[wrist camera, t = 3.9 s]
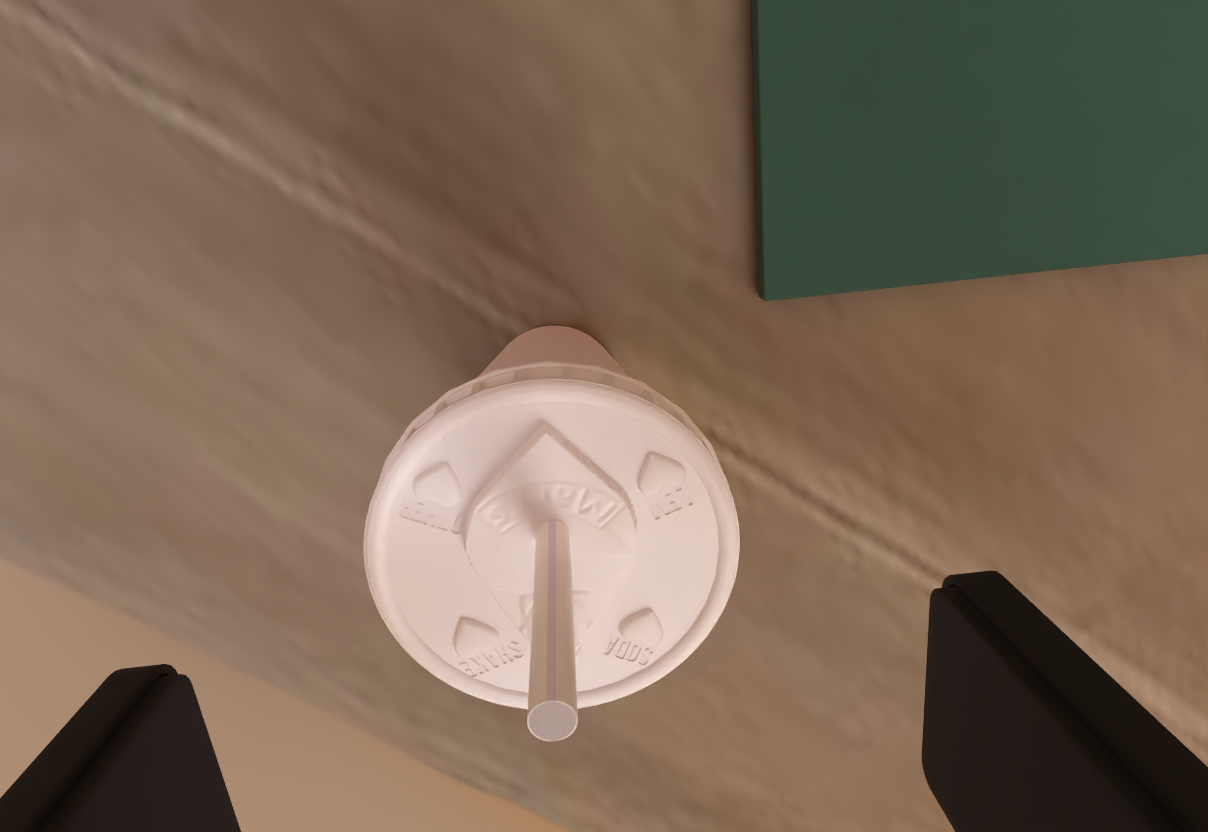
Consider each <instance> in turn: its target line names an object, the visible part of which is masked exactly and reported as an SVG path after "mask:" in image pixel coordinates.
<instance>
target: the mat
mask: <svg viewBox="0 0 1208 832" xmlns="http://www.w3.org/2000/svg"><path fill="white" fill-rule="evenodd" d="M752 39H753V79H754V119H755V159H756V199H757V239H758V278H759V297H760V298H761V299H763V300H764V301H771V300H780V299H790V298H799V297H808V296H817V295H827V294H836V293H845V292H855V291H864V290H873V289H883V288H892V287H901V286H911V285H920V284H929V283H939V282H948V281H957V280H967V279H976V278H985V277H994V276H1004V275H1013V274H1022V273H1032V272H1041V271H1050V270H1060V269H1069V268H1078V267H1088V266H1097V265H1106V264H1116V263H1125V262H1134V261H1143V260H1153V259H1162V258H1171V257H1181V256H1190V255H1199V254H1208V0H752Z"/></svg>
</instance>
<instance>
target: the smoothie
mask: <svg viewBox="0 0 1208 832" xmlns="http://www.w3.org/2000/svg"><path fill="white" fill-rule="evenodd" d="M739 550H740V538H739V525H738V517H737V512H736V508H735V504H734V500H733V497H732V495H731V492H730V489H729V484H728V482H727V479H726V477H725V475H724V472H723V470H722V468H721V465H720V463H719V461H718V458H717V456H716V454H715V451H714V449H713V447H712V444H711V443H710V442H709V441H708V439H707V438H706V437H705V436H704V435H703V433H702V432H701V431H700V430H699V429H698V427H697V426H696V425H695V424H694V423H693V421H692V420H691V419H690V418H689V416H688V415H687V414H686V413H685V412H684V410H683V409H682V408H680V407H679V406H677V405H676V404H674V403H673V402H671V401H670V400H669V399H667V398H666V397H664V396H663V395H661V394H660V393H658V392H657V391H655V390H654V389H653V388H651V387H650V386H648V385H647V384H645V383H644V382H642V381H639V380H636V379H633V378H631V377H630V376H629V375H628V374H627V373H626V372H625V371H624V370H623V369H622V367H621V366H620V365H619V364H618V363H617V362H616V361H615V360H614V359H613V357H612V356H611V355H610V354H609V353H608V352H607V351H606V350H605V349H604V348H603V346H602V345H601V344H600V343H599V342H597V341H596V340H595V339H594V338H592V337H591V336H589V335H588V334H586V333H584V332H582V331H579V330H577V329H574V328H570V327H565V326H543V327H538V328H535V329H531V330H529V331H527V332H525V333H523V334H521V335H519V336H518V337H516V338H515V339H514V340H512V341H511V342H510V343H509V344H508V345H507V346H506V347H505V348H504V349H503V350H502V351H501V352H500V353H499V354H498V356H497V357H496V358H495V359H494V360H493V361H492V362H491V363H490V364H489V365H488V366H487V368H486V369H485V370H484V371H483V372H482V373H481V374H480V375H479V376H478V377H477V378H475V379H473V380H471V381H469V382H466V383H464V384H462V385H460V386H458V387H455V388H453V389H451V390H449V391H448V392H447V393H445V394H444V395H443V396H442V397H441V398H439V399H438V400H437V401H436V402H435V403H433V404H432V405H431V406H430V407H429V408H427V409H426V410H425V411H424V412H423V413H421V414H420V415H419V416H418V417H417V418H415V419H414V420H413V421H412V422H411V423H410V425H409V426H408V428H407V429H406V431H405V432H404V433H403V435H402V436H401V438H400V439H399V441H398V442H397V444H396V445H395V447H394V448H393V450H392V451H391V453H390V454H389V456H388V457H387V459H386V460H385V463H384V466H383V470H382V473H381V476H380V479H379V482H378V484H377V486H376V489H375V492H374V494H373V497H372V500H371V502H370V506H369V510H368V514H367V518H366V525H365V532H364V561H365V570H366V575H367V579H368V584H369V587H370V591H371V594H372V597H373V600H374V602H375V604H376V606H377V609H378V611H379V613H380V615H381V617H382V619H383V620H384V622H385V624H386V625H387V627H388V629H389V630H390V632H391V633H392V634H393V636H394V637H395V638H396V640H397V641H398V643H399V644H400V645H401V646H402V647H403V648H404V649H405V650H406V651H407V652H408V654H409V655H410V656H411V657H413V658H414V659H415V660H416V661H417V662H418V663H419V664H420V665H421V666H423V667H424V668H425V669H426V670H428V671H429V672H430V673H432V674H433V675H434V676H436V677H438V678H439V679H441V680H442V681H444V682H446V683H447V684H449V685H451V686H453V687H455V688H457V689H459V690H461V691H463V692H465V693H467V694H470V695H472V696H475V697H477V698H480V699H483V700H486V701H489V702H493V703H496V704H500V705H505V706H510V707H515V708H523V709H528V715H527V725H528V728H529V730H530V732H531V733H532V734H533V735H534V736H535V737H537V738H539V739H541V740H544V741H559V740H562V739H565V738H567V737H568V736H570V735H571V734H572V733H573V732H574V730H575V729H576V727H577V724H578V712H577V708H583V707H589V706H594V705H599V704H602V703H606V702H610V701H613V700H616V699H619V698H621V697H624V696H627V695H630V694H632V693H634V692H636V691H638V690H641V689H643V688H645V687H647V686H648V685H650V684H652V683H654V682H655V681H657V680H659V679H660V678H662V677H663V676H665V675H666V674H668V673H669V672H671V671H672V670H673V669H675V668H676V667H677V666H678V665H679V664H681V663H682V662H683V661H684V660H685V659H686V658H687V657H689V656H690V655H691V654H692V653H693V652H694V651H695V650H696V649H697V648H698V646H699V645H700V644H701V643H702V642H703V640H704V639H705V638H706V637H707V636H708V634H709V633H710V631H711V630H712V628H713V627H714V625H715V624H716V622H717V621H718V619H719V617H720V615H721V614H722V612H723V610H724V608H725V606H726V603H727V601H728V599H729V596H730V594H731V591H732V588H733V584H734V581H735V577H736V572H737V567H738V561H739Z"/></svg>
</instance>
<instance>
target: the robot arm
mask: <svg viewBox="0 0 1208 832" xmlns="http://www.w3.org/2000/svg"><path fill="white" fill-rule="evenodd" d="M922 764H923V770H924V774H925V777H926V780H927V783H928V785H929V787H930V789H931V791H932V793H933V794H934V796H935V798H936V799H937V801H938V803H939V804H940V806H941V808H942V810H943V811H944V813H945V815H946V816H947V818H948V820H949V821H950V823H951V825H952V827H953V828H954V830H955V832H1208V767H1207V766H1206V765H1205V764H1204V763H1203V762H1202V761H1201V760H1199V759H1198V758H1197V757H1196V756H1195V755H1194V754H1193V753H1192V752H1191V751H1190V750H1189V749H1188V748H1187V747H1186V746H1184V745H1183V744H1182V743H1181V742H1180V741H1179V740H1178V739H1177V738H1176V737H1175V736H1174V735H1173V734H1172V733H1171V732H1169V731H1168V730H1167V729H1166V728H1165V727H1164V726H1163V725H1162V724H1161V723H1160V722H1159V721H1158V720H1157V719H1156V718H1155V717H1153V716H1152V715H1151V714H1150V713H1149V712H1148V711H1147V710H1146V709H1145V708H1144V707H1143V706H1142V705H1141V704H1140V703H1138V702H1137V701H1136V700H1135V699H1134V698H1133V697H1132V696H1131V695H1130V694H1129V693H1128V692H1127V691H1126V690H1125V689H1123V688H1122V687H1121V686H1120V685H1119V684H1118V683H1117V682H1116V681H1115V680H1114V679H1113V678H1112V677H1111V676H1110V675H1108V674H1107V673H1106V672H1105V671H1104V670H1103V669H1102V668H1101V667H1100V666H1099V665H1098V664H1097V663H1096V662H1095V661H1093V660H1092V659H1091V658H1090V657H1089V656H1088V655H1087V654H1086V653H1085V652H1084V651H1083V650H1082V649H1081V648H1080V647H1078V646H1077V645H1076V644H1075V643H1074V642H1073V641H1072V640H1071V639H1070V638H1069V637H1068V636H1067V635H1066V634H1065V633H1063V632H1062V631H1061V630H1060V629H1059V628H1058V627H1057V626H1056V625H1055V624H1054V623H1053V622H1052V621H1051V620H1050V619H1049V618H1047V617H1046V616H1045V615H1044V614H1043V613H1042V612H1041V611H1040V610H1039V609H1038V608H1037V607H1036V606H1035V605H1034V604H1032V603H1031V602H1030V601H1029V600H1028V599H1027V598H1026V597H1025V596H1024V595H1023V594H1022V593H1021V592H1020V591H1019V590H1017V589H1016V588H1015V587H1014V586H1013V585H1012V584H1011V583H1010V582H1009V581H1008V580H1007V579H1006V578H1005V577H1004V576H1002V575H1001V574H1000V573H998V572H997V571H983V572H974V573H965V574H956V575H949V576H948V577H946V578H945V580H944V582H943V584H942V588H937V589H934V590H933V591H932V593H931V597H930V609H929V628H928V647H927V666H926V685H925V704H924V722H923V741H922ZM0 832H241V831H240V827H239V825H238V821H237V819H236V815H235V812H234V810H233V806H232V803H231V800H230V797H229V794H228V791H227V788H226V785H225V782H224V779H223V776H222V773H221V770H220V767H219V764H218V761H217V758H216V755H215V752H214V749H213V746H212V743H211V740H210V737H209V734H208V731H207V728H206V725H205V722H204V719H203V716H202V713H201V710H200V707H199V704H198V701H197V698H196V695H195V692H194V689H193V686H192V683H191V681H190V679H189V678H188V677H187V676H186V675H182V674H179V675H178V673H177V671H176V670H175V669H174V668H173V667H172V666H171V665H167V664H161V665H152V666H143V667H135V668H125V669H120V670H117V671H114V672H113V673H112V674H111V675H110V676H108V678H107V679H106V680H105V681H104V682H103V683H102V685H100V687H99V688H98V689H97V690H96V691H95V692H94V693H93V694H92V696H91V697H90V698H89V699H88V700H87V701H86V702H85V703H84V705H83V706H82V707H81V708H80V709H79V710H78V711H77V712H76V714H75V715H74V716H73V717H72V718H71V719H70V720H69V722H68V723H67V724H66V725H65V726H64V727H63V728H62V729H61V731H60V732H59V733H58V734H57V735H56V736H55V737H54V738H53V740H52V741H51V742H50V743H49V744H48V745H47V746H46V747H45V749H44V750H43V751H42V752H41V753H40V754H39V755H38V756H37V758H36V759H35V760H34V761H33V762H32V763H31V764H30V765H29V767H28V768H27V769H26V770H25V771H24V772H23V773H22V775H21V776H20V777H19V778H18V779H17V780H16V781H15V782H14V784H13V785H12V786H11V787H10V788H9V789H8V790H7V791H6V792H5V794H4V795H3V796H2V797H1V798H0Z"/></svg>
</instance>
